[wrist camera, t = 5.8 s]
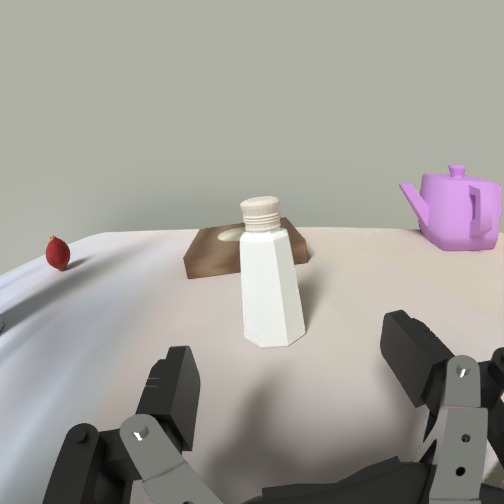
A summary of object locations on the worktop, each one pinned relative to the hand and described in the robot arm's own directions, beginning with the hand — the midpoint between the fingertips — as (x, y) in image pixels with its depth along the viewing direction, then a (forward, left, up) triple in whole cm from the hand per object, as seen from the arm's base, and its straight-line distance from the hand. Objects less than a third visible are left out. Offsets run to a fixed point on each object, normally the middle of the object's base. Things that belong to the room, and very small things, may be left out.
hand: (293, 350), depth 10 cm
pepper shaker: (0, +11, -7) cm, 13 cm away
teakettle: (+33, +26, -7) cm, 42 cm away
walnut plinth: (-2, +33, -7) cm, 34 cm away
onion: (-42, +38, -7) cm, 57 cm away
